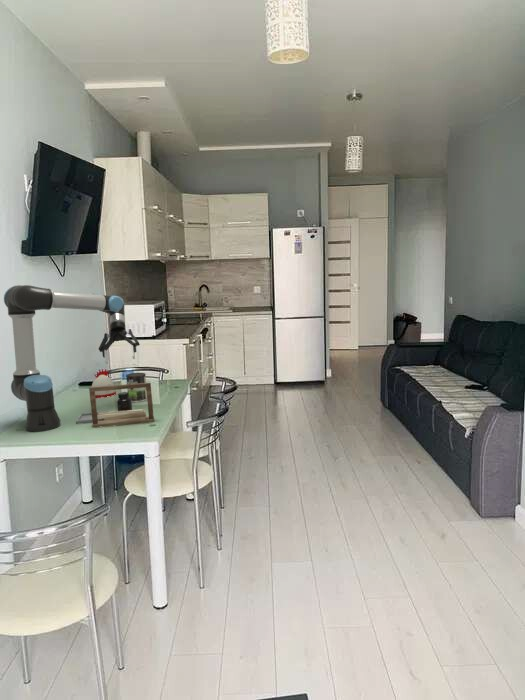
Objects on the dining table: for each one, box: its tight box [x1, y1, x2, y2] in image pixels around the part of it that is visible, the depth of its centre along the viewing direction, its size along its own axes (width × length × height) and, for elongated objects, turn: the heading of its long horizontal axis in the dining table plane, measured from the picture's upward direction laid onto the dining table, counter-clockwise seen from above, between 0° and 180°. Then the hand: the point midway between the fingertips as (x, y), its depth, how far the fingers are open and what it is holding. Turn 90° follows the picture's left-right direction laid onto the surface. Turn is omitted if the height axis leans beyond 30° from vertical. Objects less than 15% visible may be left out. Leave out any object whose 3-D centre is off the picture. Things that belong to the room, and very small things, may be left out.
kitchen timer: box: [91, 368, 117, 399], centre depth 310 cm, size 14×14×15 cm
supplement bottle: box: [116, 391, 133, 411], centre depth 257 cm, size 7×7×12 cm
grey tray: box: [75, 410, 110, 425], centre depth 259 cm, size 13×13×2 cm
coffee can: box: [125, 372, 147, 403], centre depth 293 cm, size 10×10×14 cm
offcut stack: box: [97, 408, 147, 424], centre depth 248 cm, size 5×21×4 cm, turn 98°
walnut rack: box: [88, 382, 155, 428], centre depth 248 cm, size 6×27×18 cm, turn 99°
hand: (120, 360), depth 271 cm, fingers open, 13 cm apart
